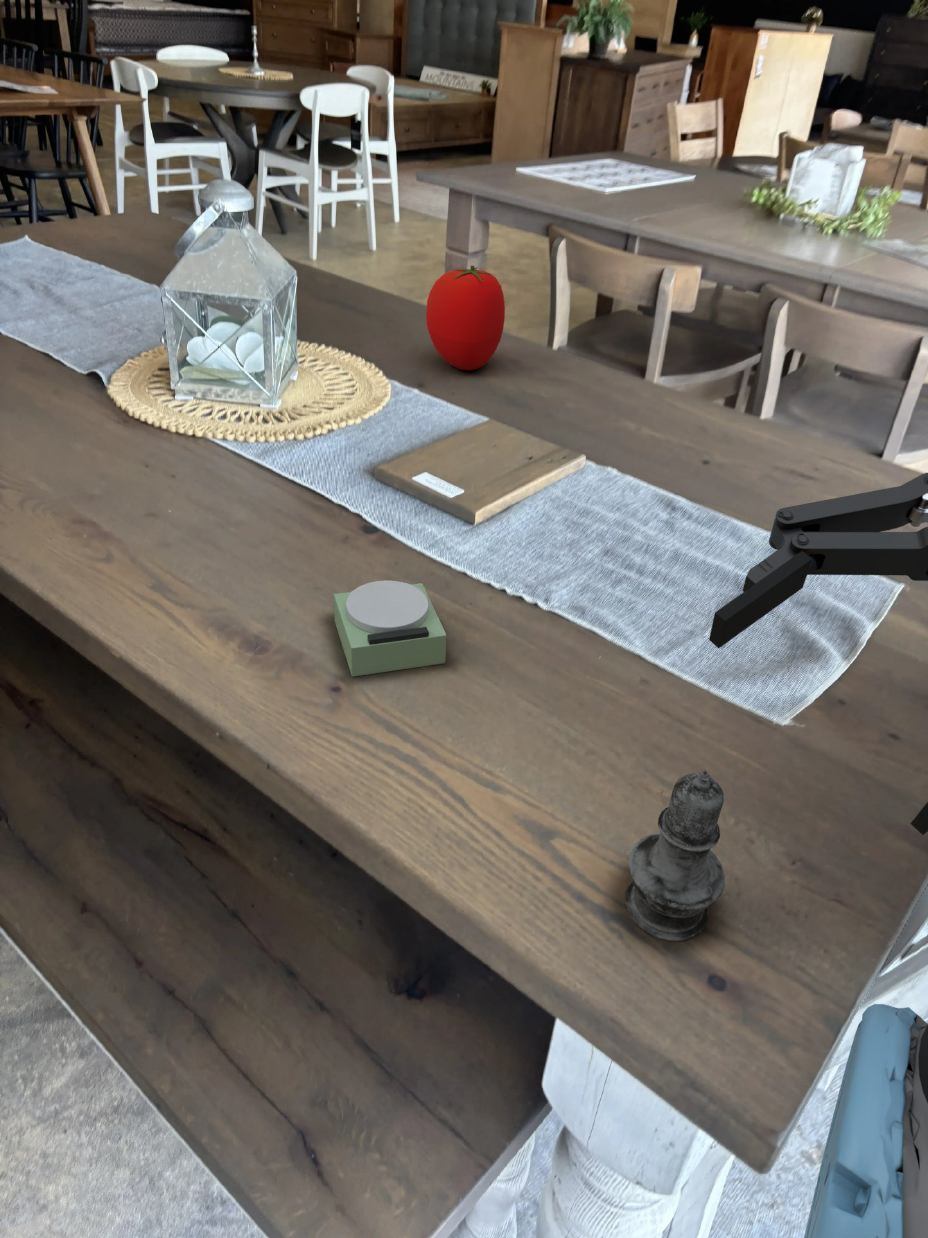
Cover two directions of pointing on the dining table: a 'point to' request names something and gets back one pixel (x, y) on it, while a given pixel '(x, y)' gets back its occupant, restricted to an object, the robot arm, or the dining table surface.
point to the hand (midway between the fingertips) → (812, 718)
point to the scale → (388, 628)
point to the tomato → (466, 317)
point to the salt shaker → (679, 863)
